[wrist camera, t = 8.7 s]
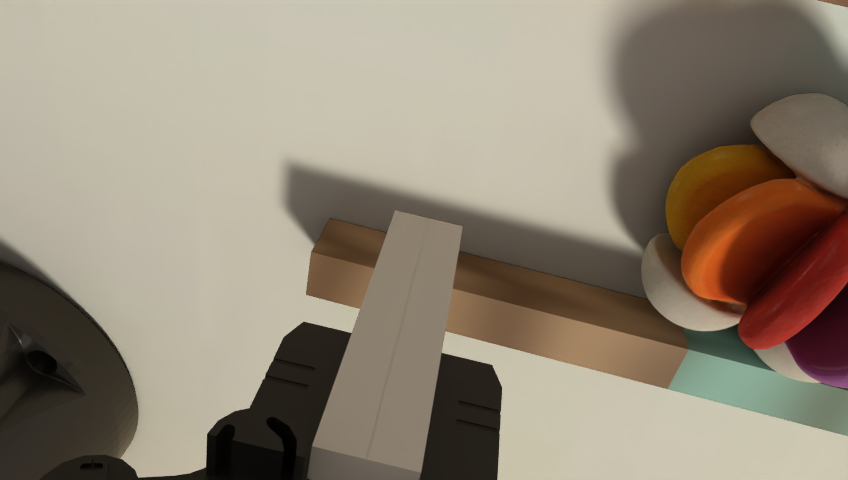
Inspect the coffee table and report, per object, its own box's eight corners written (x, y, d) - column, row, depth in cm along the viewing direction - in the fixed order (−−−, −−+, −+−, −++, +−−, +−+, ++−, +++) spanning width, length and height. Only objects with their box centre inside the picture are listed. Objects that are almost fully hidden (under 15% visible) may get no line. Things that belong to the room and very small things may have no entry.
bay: (324, 259, 28) (255, 388, 22) (386, -194, 19) (301, -201, 13) (926, 414, 27) (1039, 598, 21) (1273, 10, 18) (1653, 111, 12)
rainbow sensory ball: (750, 45, 21) (827, 137, 15) (1006, 182, 22) (1177, 321, 16) (601, 245, 26) (614, 377, 20) (818, 352, 27) (895, 511, 21)
